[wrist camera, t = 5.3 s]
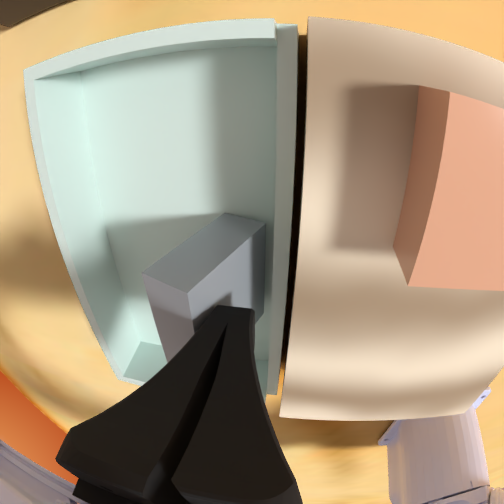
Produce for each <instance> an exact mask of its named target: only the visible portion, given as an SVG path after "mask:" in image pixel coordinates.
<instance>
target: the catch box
mask: <svg viewBox="0 0 504 504" xmlns="http://www.w3.org/2000/svg"><path fill="white" fill-rule="evenodd" d="M298 54H299V33H298V25H297V24H277V23H276V21H275V19H274V18H264V19H234V20H220V21H209V22H199V23H191V24H183V25H176V26H170V27H164V28H158V29H153V30H148V31H143V32H138V33H134V34H129V35H125V36H121V37H117V38H113V39H109V40H105V41H102V42H98V43H95V44H92V45H88V46H85V47H82V48H79V49H76V50H73V51H70V52H67V53H64V54H61V55H59V56H56V57H53V58H51V59H48V60H45V61H43V62H40V63H38V64H36V65H33V66H31V67H29V68H26V69H24V70H23V72H24V85H25V95H26V104H27V112H28V119H29V126H30V132H31V138H32V144H33V149H34V154H35V159H36V164H37V169H38V173H39V178H40V182H41V186H42V190H43V194H44V198H45V202H46V205H47V209H48V212H49V216H50V219H51V223H52V226H53V229H54V232H55V235H56V239H57V242H58V245H59V248H60V251H61V253H62V256H63V259H64V262H65V265H66V267H67V270H68V273H69V275H70V278H71V281H72V283H73V286H74V288H75V291H76V293H77V296H78V298H79V300H80V303H81V305H82V308H83V310H84V312H85V314H86V317H87V319H88V321H89V323H90V325H91V328H92V330H93V332H94V334H95V336H96V338H97V340H98V342H99V344H100V346H101V348H102V350H103V352H104V354H105V356H106V358H107V360H108V362H109V364H110V366H111V368H112V370H113V371H114V373H115V375H116V377H117V379H118V380H121V381H125V382H129V383H132V384H136V385H140V386H142V385H143V384H145V383H146V382H147V381H148V380H149V379H151V378H152V377H153V376H154V375H155V374H156V373H158V372H159V371H160V370H161V369H162V368H163V367H164V366H165V365H166V364H167V360H166V357H165V354H164V350H163V347H162V344H161V341H160V338H159V334H158V331H157V328H156V324H155V321H154V318H153V314H152V311H151V307H150V304H149V300H148V296H147V292H146V289H145V285H144V281H143V277H142V272H143V271H144V270H146V269H147V268H148V267H150V266H151V265H152V264H154V263H155V262H156V261H158V260H159V259H161V258H162V257H163V256H165V255H166V254H167V253H169V252H170V251H171V250H173V249H174V248H176V247H177V246H178V245H180V244H181V243H183V242H184V241H185V240H187V239H188V238H189V237H191V236H192V235H194V234H195V233H196V232H198V231H199V230H201V229H202V228H204V227H205V226H206V225H208V224H209V223H211V222H212V221H214V220H215V219H216V218H218V217H219V216H221V215H222V214H224V213H228V214H232V215H236V216H240V217H244V218H248V219H252V220H256V221H260V222H264V223H266V248H265V291H264V314H263V315H262V316H261V317H260V319H259V320H258V321H257V323H256V324H255V348H254V355H255V362H256V368H257V373H258V378H259V383H260V387H261V391H262V395H263V398H264V402H266V395H267V394H271V395H277V390H278V382H279V374H280V366H281V357H282V347H283V336H284V326H285V314H286V303H287V291H288V278H289V265H290V251H291V237H292V221H293V204H294V185H295V164H296V140H297V109H298Z"/></svg>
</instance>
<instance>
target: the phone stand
mask: <svg viewBox="0 0 504 504" xmlns="http://www.w3.org/2000/svg"><path fill="white" fill-rule="evenodd" d="M65 1H68V0H0V24H1V25H4V26H7V27H10V26H12V25H14V24H16V23H18V22H20V21H22V20H24V19H26V18H28V17H30V16H32V15H34V14H36V13H39V12H41V11H43V10H45V9H48V8H50V7H52V6H55V5H57V4H60V3H62V2H65Z"/></svg>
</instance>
